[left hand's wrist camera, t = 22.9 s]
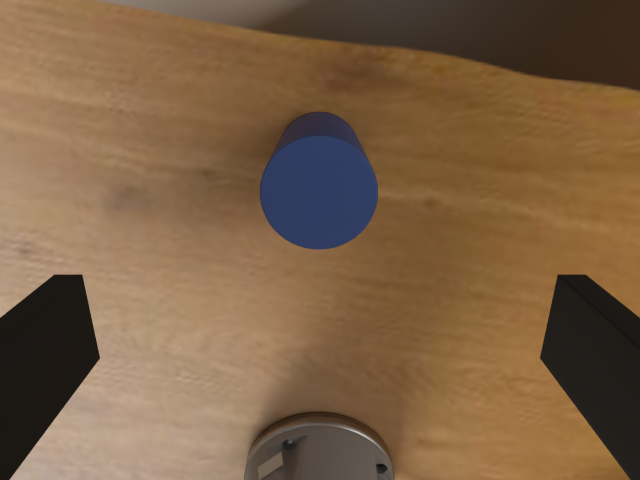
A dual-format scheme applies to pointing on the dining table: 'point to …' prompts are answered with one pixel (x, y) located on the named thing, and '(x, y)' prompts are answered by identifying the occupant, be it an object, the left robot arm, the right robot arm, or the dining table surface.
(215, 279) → the dining table surface
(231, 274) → the dining table surface
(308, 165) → the canister
